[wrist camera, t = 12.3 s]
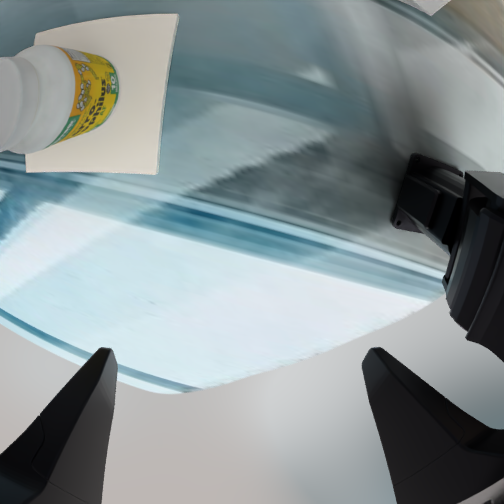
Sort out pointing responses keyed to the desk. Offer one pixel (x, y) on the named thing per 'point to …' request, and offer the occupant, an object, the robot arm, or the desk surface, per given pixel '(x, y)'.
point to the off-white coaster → (131, 99)
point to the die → (426, 5)
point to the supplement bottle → (54, 96)
